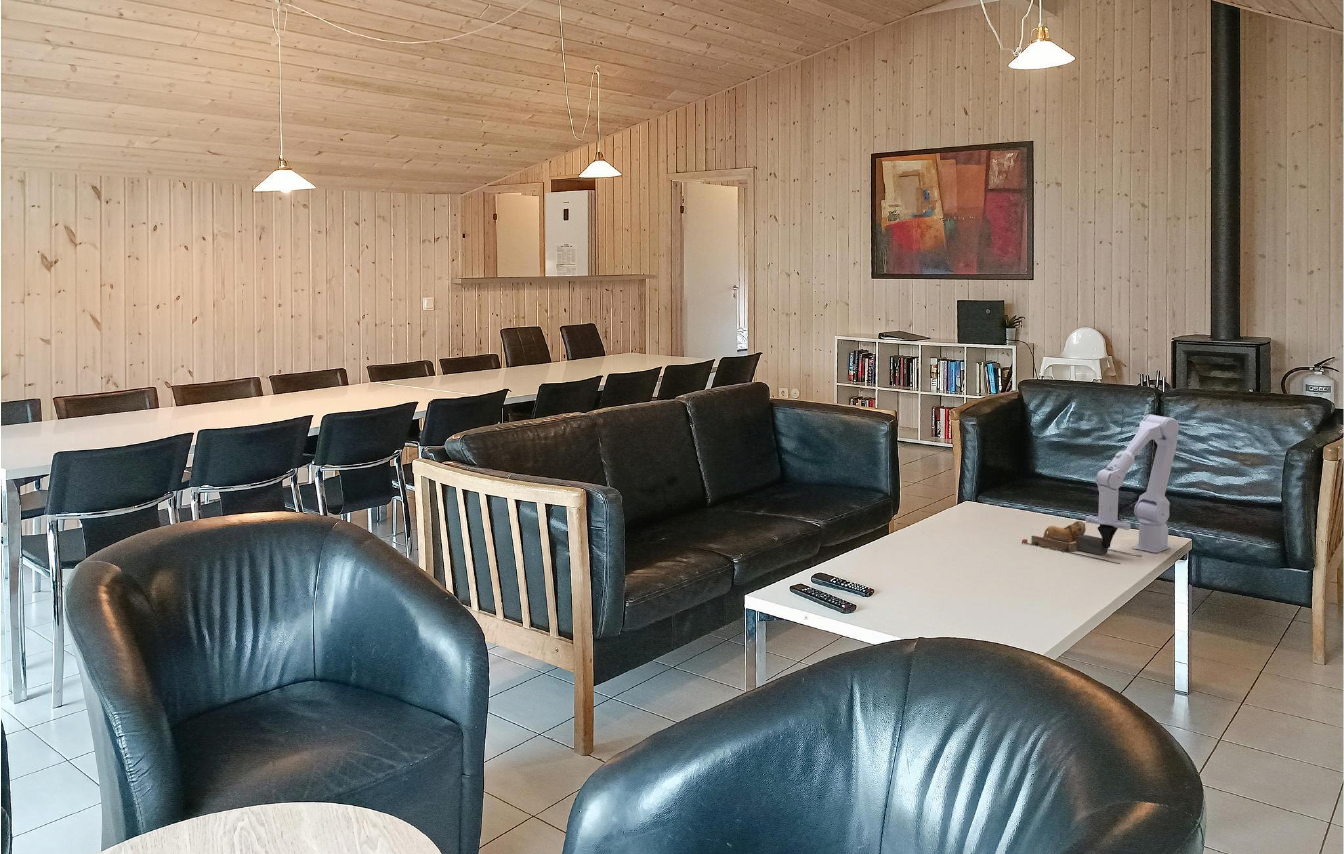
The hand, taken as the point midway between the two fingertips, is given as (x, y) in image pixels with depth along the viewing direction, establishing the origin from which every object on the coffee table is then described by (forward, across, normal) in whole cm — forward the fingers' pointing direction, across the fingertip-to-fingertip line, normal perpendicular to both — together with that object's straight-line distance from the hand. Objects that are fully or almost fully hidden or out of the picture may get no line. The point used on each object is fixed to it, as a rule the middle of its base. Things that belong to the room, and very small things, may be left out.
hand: (1106, 547), depth 341 cm
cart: (+2, -12, 0) cm, 13 cm away
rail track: (+2, -9, 0) cm, 10 cm away
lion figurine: (+3, -16, 0) cm, 16 cm away
